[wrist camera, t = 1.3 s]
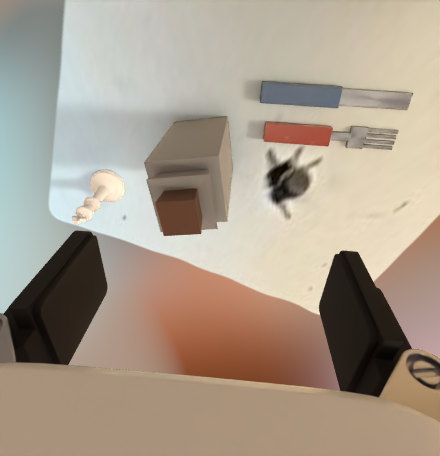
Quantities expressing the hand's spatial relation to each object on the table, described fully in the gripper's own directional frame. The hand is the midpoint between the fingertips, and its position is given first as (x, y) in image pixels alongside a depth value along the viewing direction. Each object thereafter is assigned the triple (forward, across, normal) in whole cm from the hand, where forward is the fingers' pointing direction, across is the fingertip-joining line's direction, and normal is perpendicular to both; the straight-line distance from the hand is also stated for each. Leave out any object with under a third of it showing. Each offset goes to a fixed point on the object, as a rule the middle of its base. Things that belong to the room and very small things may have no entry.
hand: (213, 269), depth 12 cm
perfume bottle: (+30, +4, +5) cm, 31 cm away
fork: (+30, -11, +2) cm, 32 cm away
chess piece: (+30, +18, +12) cm, 37 cm away
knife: (+30, -11, -2) cm, 32 cm away
